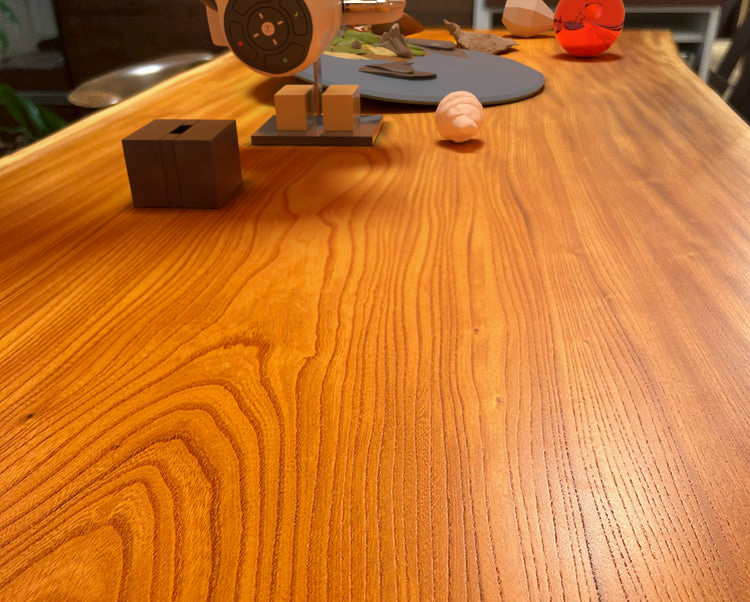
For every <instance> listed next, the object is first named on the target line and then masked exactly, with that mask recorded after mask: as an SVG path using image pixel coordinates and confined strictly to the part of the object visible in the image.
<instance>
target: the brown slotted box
mask: <svg viewBox="0 0 750 602" xmlns="http://www.w3.org/2000/svg"><path fill="white" fill-rule="evenodd" d="M238 134H239V133H238V125H237V120H236V119H220V118H219V119H213V118H212V119H208V118H207V119H205V118H204V119H201V118H199V119H198V118H192V119H191V118H188V119H187V118H155V119H153V120H150V121H149V122H148V123H147V124H144V125H143V126H141V127H140V128H138V129H137V130H135V131H133V132H131V133H130V134H128V135H127V136H125V137H124V138H122V139H121V145H122V152H123V157H124V162H125V168H126V172H127V178H128V185H129V188H130V194H131V199H132V205H133V207H134V208H168V209H169V208H170V209H171V208H173V209H176V208H177V209H178V208H179V209H182V208H184V209H220V208H221V207H222V206H223V204H225V202H226V201H227V200H228V199H229V198H230V197H231V195H233V194H234V193H235V191H236V190H237V189H238V188H239V187H240V186H241V185H242V184H243V182H244V179H243V171H242V163H241V155H240V154H241V153H240V144H239V136H238Z"/></svg>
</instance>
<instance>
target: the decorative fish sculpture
mask: <svg viewBox="0 0 750 602" xmlns="http://www.w3.org/2000/svg"><path fill="white" fill-rule="evenodd" d="M396 23H398V24H399V31H400V35H402V34H403V36H404V38H406V37H409V36H412V35H416V34H419V33H422V32H424V31H425V30H426V27H424V25H423V24H422V23H420V21H418V20H417V19H415V18H414V17H412V16H411V15H409V14H407V13H406V12H403V16H402V17H401V18H400V19H398V20H397V21H394V22H390V23H383V24H372V25H371V28H369V27H368V30H367V31H365V29H364V27H362V28H360V29H361V30H362V31H360V30H358V29H355V28H354V27H361V26H367V25H368V24H359V25H350V26H351V28H352V30H356V31H359V32H363V33H364V32H369V33H372V34H375V35H379V36H382V35H383V33H384V32H387V33H388V32H389V30H390V28H391V27H392V26H393V25H394V24H396ZM370 31H371V32H370Z"/></svg>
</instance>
